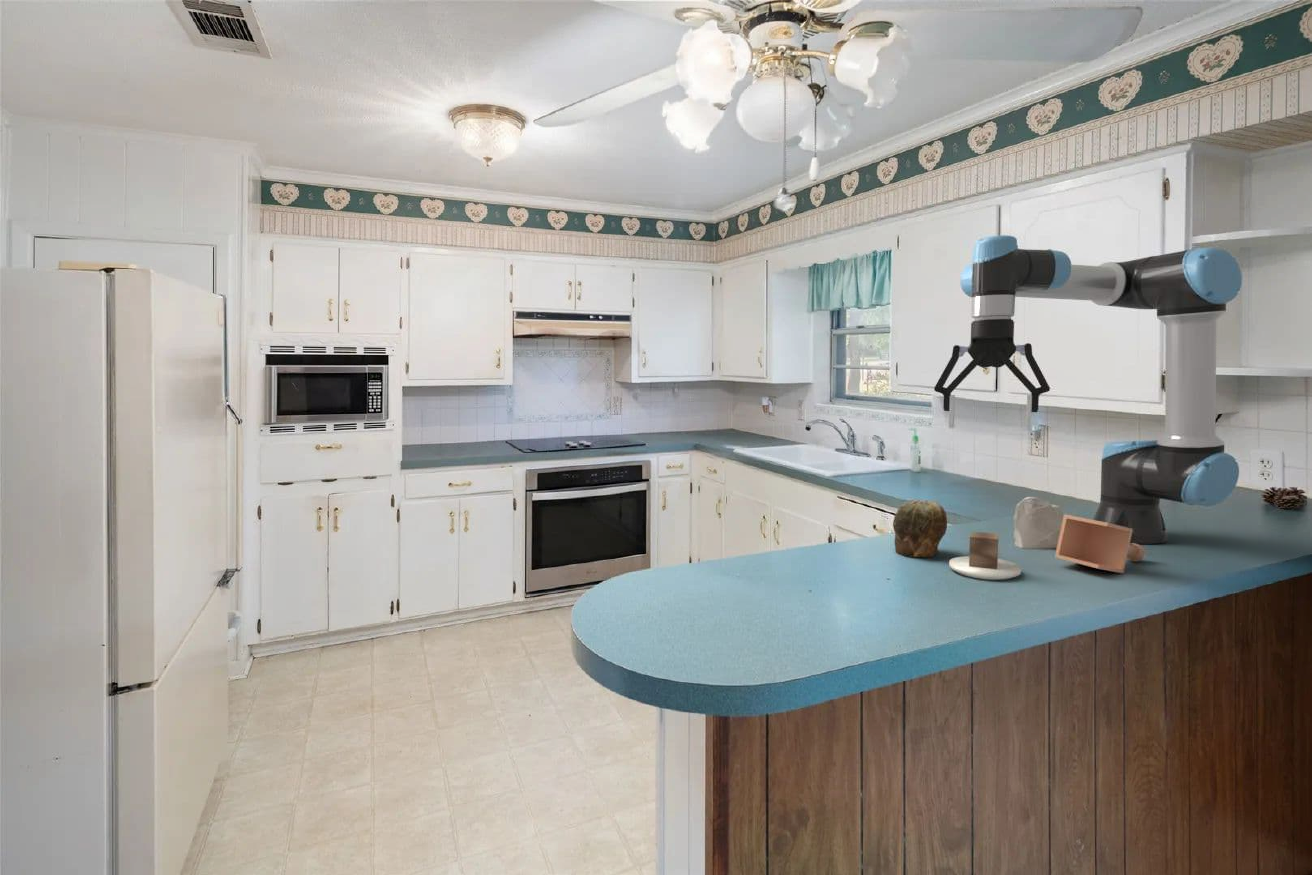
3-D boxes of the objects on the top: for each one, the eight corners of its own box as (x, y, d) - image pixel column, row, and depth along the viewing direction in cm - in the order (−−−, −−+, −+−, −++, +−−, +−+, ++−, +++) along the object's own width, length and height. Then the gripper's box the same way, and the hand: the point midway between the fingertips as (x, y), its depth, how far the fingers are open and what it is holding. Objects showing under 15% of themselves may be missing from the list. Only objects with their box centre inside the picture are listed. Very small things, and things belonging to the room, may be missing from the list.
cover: (1054, 557, 142) (1113, 569, 150) (1097, 568, 134) (1157, 580, 142) (1064, 514, 142) (1122, 528, 150) (1107, 522, 134) (1167, 537, 142)
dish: (998, 561, 146) (998, 555, 146) (1035, 580, 133) (1035, 573, 133) (937, 563, 146) (938, 557, 145) (968, 582, 133) (968, 575, 133)
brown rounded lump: (938, 563, 146) (939, 506, 145) (886, 555, 153) (887, 501, 151) (952, 552, 155) (953, 498, 153) (902, 545, 161) (903, 494, 160)
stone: (1055, 544, 160) (1058, 494, 159) (1064, 550, 155) (1067, 498, 154) (1008, 542, 162) (1010, 493, 161) (1015, 548, 157) (1017, 497, 156)
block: (997, 562, 140) (998, 533, 140) (997, 569, 136) (998, 539, 135) (970, 560, 143) (971, 531, 142) (969, 566, 138) (969, 536, 138)
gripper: (1066, 317, 132) (1061, 428, 134) (925, 323, 144) (923, 425, 146) (1068, 314, 126) (1063, 432, 128) (921, 321, 137) (919, 428, 139)
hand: (988, 428), depth 137 cm, fingers open, 13 cm apart
